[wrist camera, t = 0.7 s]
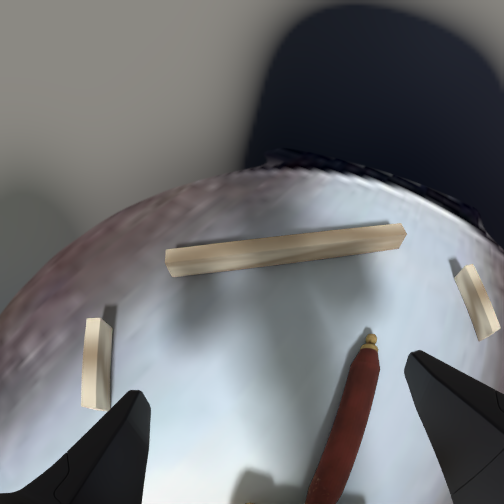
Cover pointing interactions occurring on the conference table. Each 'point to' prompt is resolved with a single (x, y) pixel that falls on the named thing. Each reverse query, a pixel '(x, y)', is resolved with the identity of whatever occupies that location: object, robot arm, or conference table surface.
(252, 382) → the conference table surface
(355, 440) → the gavel
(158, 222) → the conference table surface
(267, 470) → the conference table surface
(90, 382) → the wooden bars
